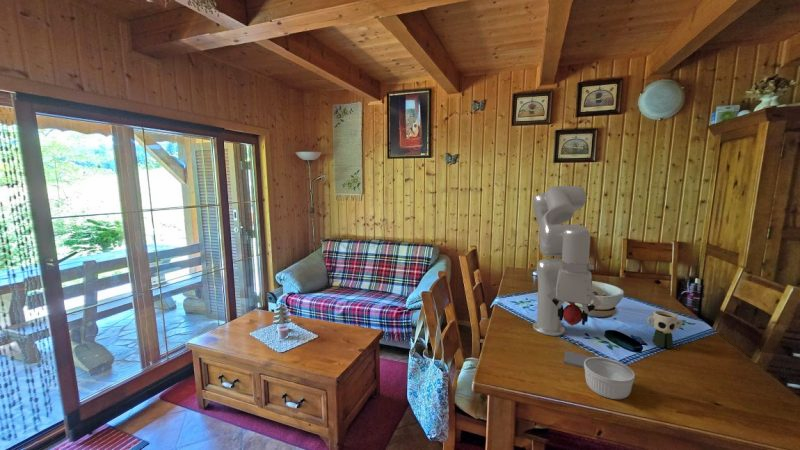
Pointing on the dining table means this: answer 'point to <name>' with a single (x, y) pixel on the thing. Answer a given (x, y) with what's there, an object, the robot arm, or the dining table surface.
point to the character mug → (664, 327)
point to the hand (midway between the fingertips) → (572, 320)
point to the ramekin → (608, 377)
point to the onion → (572, 314)
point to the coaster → (575, 359)
